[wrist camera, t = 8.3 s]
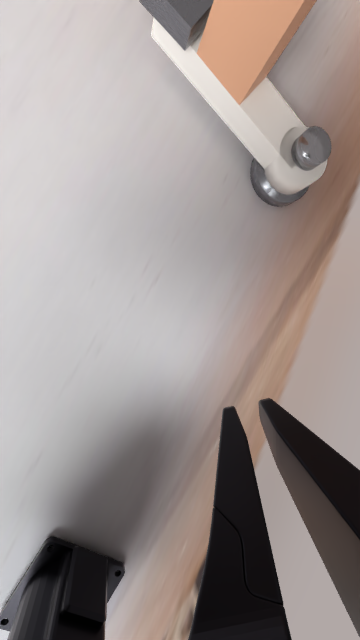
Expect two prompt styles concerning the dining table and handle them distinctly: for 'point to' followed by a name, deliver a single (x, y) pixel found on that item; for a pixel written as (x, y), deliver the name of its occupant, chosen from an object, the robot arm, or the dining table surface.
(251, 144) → the link
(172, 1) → the dark grey block
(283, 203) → the pintle plate
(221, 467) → the robot arm
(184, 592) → the dining table surface
